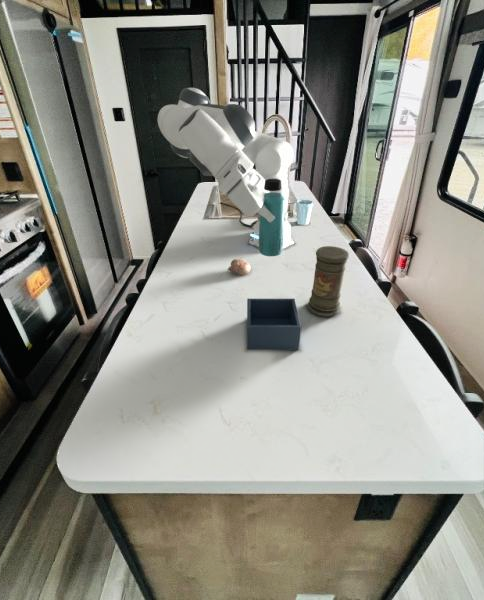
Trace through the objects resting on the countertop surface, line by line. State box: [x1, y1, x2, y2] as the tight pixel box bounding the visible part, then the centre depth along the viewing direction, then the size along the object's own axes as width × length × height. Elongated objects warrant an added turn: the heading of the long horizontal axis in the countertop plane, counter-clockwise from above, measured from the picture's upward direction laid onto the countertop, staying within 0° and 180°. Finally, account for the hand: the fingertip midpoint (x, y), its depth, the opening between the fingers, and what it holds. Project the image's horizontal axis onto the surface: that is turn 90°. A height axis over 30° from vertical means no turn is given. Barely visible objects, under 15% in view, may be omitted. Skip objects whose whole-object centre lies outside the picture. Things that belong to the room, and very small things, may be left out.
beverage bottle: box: [258, 179, 285, 257], centre depth 81 cm, size 6×7×20 cm
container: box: [307, 245, 350, 318], centre depth 89 cm, size 9×9×18 cm
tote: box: [246, 298, 302, 351], centre depth 82 cm, size 13×13×7 cm
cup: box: [296, 199, 314, 226], centre depth 154 cm, size 8×8×10 cm
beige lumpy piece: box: [227, 258, 252, 276], centre depth 112 cm, size 8×6×8 cm
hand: (274, 215), depth 80 cm, fingers closed on beverage bottle, 5 cm apart
